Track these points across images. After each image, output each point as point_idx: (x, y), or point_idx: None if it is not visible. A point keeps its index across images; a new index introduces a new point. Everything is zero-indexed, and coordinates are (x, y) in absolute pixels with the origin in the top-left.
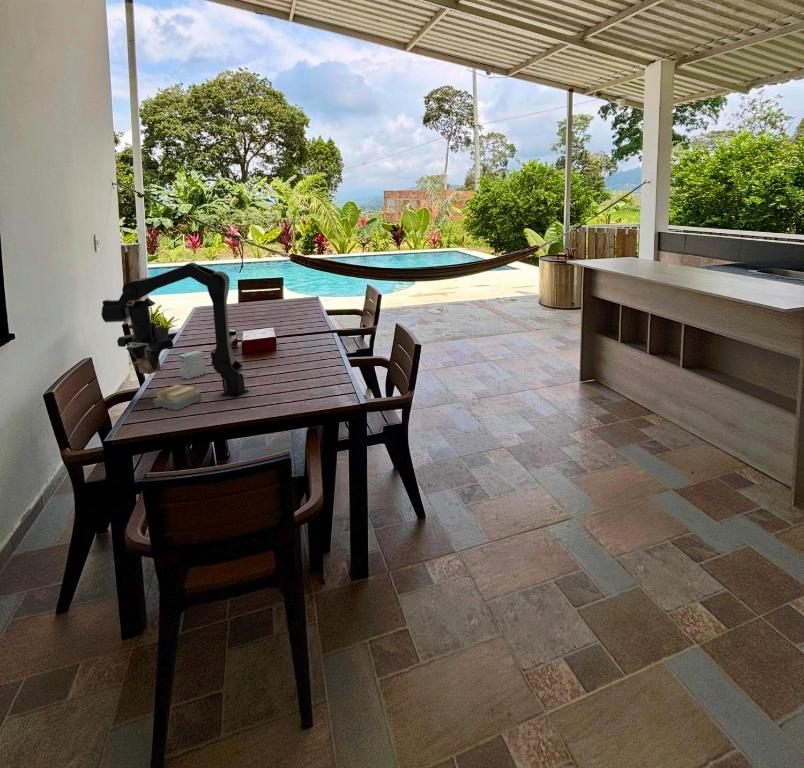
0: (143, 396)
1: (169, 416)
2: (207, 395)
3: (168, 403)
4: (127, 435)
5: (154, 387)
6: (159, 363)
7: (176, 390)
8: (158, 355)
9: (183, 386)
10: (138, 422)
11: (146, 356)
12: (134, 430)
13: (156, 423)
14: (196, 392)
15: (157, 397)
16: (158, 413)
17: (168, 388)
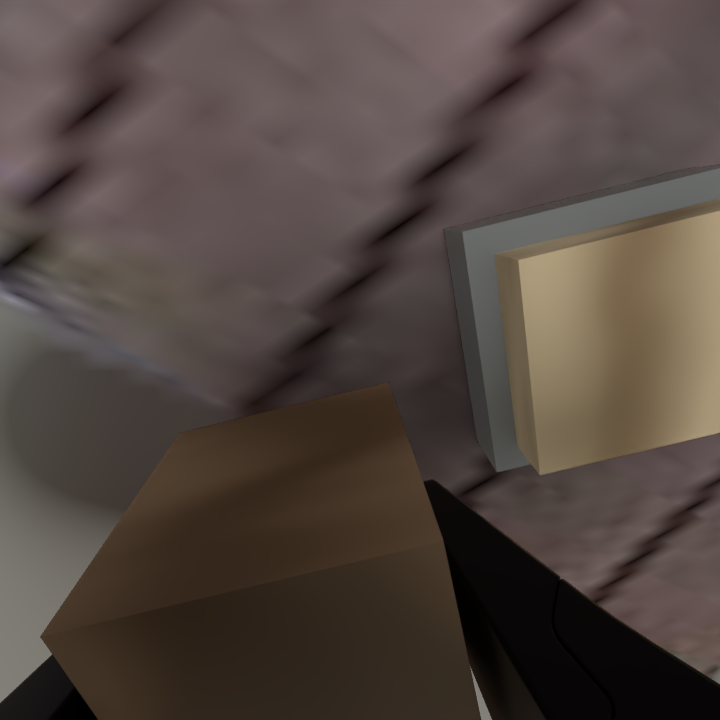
0: (198, 389)
1: (703, 463)
2: (653, 55)
3: None
4: (692, 659)
5: (12, 218)
6: (408, 441)
7: (662, 354)
8: (654, 676)
9: (635, 248)
10: (609, 584)
11: (96, 690)
12: (676, 627)
13: (711, 542)
14: (707, 178)
15: (492, 436)
16: (602, 477)
17: (542, 366)
